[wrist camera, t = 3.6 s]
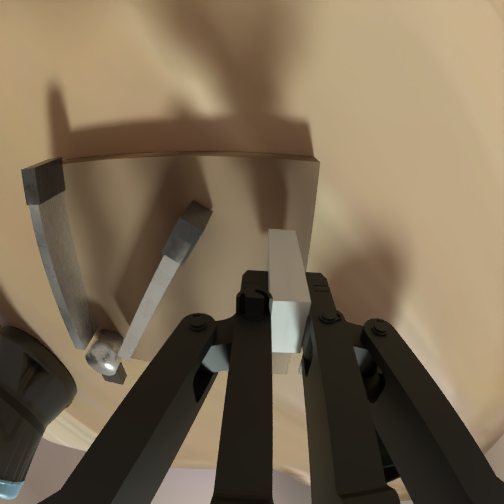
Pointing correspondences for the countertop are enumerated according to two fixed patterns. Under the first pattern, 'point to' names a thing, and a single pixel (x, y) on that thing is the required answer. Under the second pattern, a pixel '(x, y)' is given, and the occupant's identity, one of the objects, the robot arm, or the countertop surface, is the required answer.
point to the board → (164, 220)
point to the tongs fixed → (68, 267)
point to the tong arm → (167, 270)
